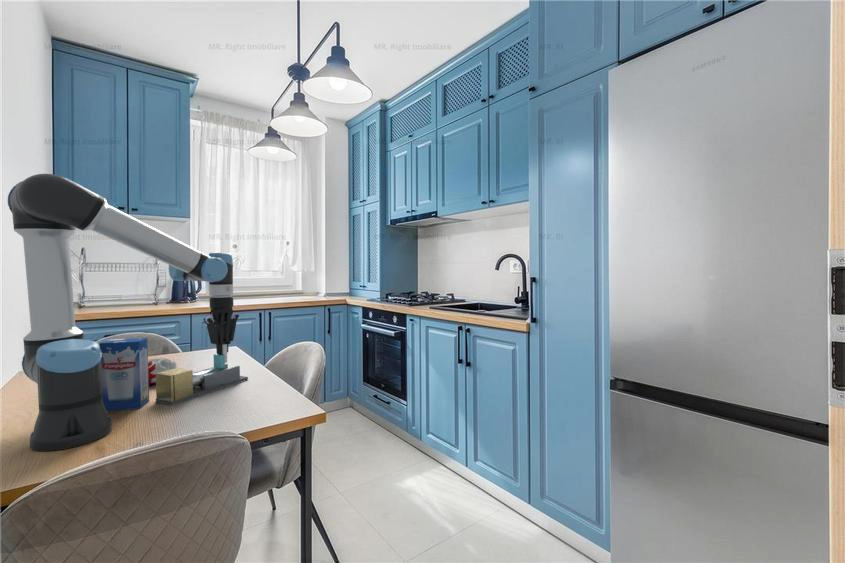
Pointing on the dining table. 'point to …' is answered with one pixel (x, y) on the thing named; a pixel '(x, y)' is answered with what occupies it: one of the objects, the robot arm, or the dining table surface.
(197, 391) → the mat
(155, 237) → the robot arm
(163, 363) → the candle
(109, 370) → the milk carton
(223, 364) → the bolt
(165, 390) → the guide
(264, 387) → the dining table surface
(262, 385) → the dining table surface
